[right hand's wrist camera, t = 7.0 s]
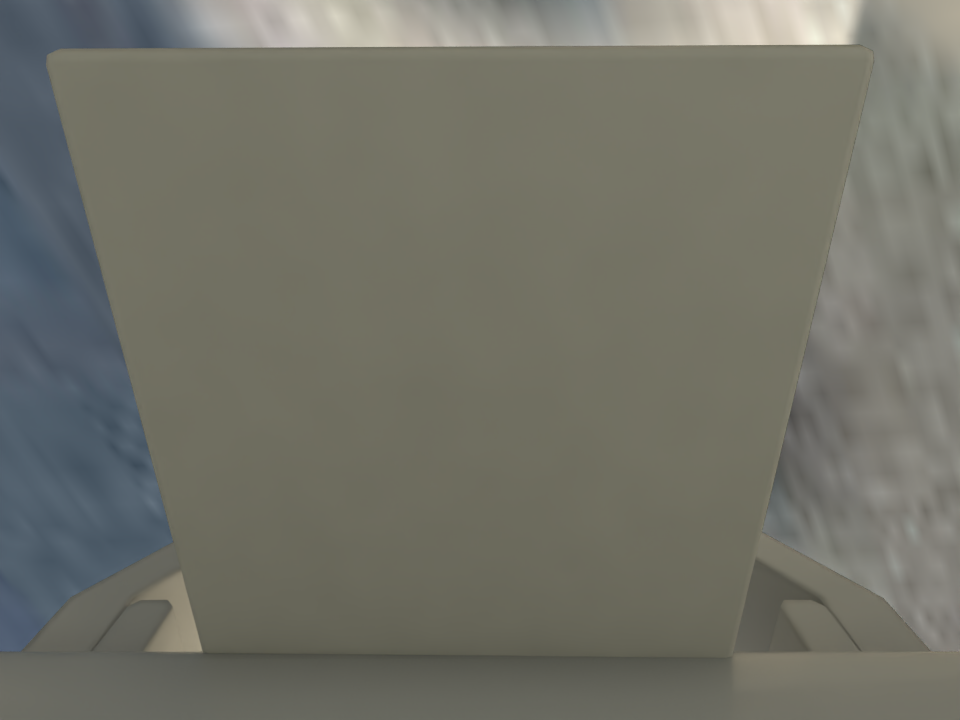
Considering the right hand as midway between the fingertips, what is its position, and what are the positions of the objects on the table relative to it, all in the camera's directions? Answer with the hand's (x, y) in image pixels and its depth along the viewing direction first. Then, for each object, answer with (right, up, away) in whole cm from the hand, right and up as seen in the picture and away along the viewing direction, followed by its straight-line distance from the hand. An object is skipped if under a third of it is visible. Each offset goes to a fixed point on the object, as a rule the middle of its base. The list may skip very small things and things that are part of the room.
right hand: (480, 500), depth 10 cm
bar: (0, -22, +12) cm, 25 cm away
